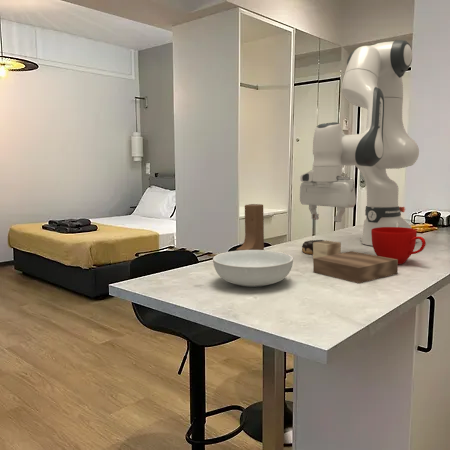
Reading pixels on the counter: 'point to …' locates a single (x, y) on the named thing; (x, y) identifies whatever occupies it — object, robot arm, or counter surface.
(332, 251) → the beech cube
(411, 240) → the ceramic cup
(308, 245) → the donut
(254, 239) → the wooden block
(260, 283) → the serving bowl
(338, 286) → the counter surface
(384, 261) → the plinth
